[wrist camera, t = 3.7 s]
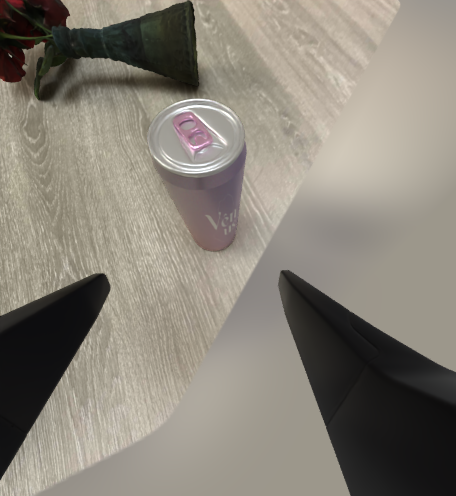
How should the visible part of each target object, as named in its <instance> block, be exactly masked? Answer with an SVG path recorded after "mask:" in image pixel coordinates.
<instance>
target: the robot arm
mask: <svg viewBox="0 0 456 496" xmlns="http://www.w3.org/2000/svg"><path fill="white" fill-rule="evenodd" d="M278 286H279V291H280V295H281V300H282V304H283V308H284V312H285V315H286V318H287V321H288V324H289V327H290V329H291V332H292V335H293V338H294V340H295V343H296V346H297V349H298V351H299V354H300V357H301V360H302V362H303V365H304V368H305V371H306V373H307V376H308V379H309V382H310V385H311V387H312V390H313V393H314V396H315V398H316V401H317V404H318V407H319V409H320V412H321V415H322V417H323V420H324V423H325V425H326V426H327V427H326V429H327V432H328V434H329V437H330V440H331V443H332V445H333V448H334V451H335V454H336V457H337V459H338V462H339V465H340V468H341V470H342V473H343V476H344V479H345V481H346V484H347V487H348V489H349V492H350V495H351V496H456V372H454V371H452V370H449V369H447V368H445V367H443V366H441V365H439V364H437V363H435V362H433V361H432V360H430V359H428V358H426V357H425V356H423V355H421V354H419V353H418V352H416V351H414V350H412V349H411V348H409V347H408V346H406V345H404V344H403V343H401V342H399V341H397V340H396V339H394V338H392V337H390V336H389V335H387V334H386V333H384V332H382V331H380V330H379V329H377V328H376V327H374V326H372V325H371V324H369V323H368V322H366V321H365V320H363V319H362V318H360V317H358V316H357V315H355V314H354V313H352V312H350V311H349V310H348V309H346V308H344V307H343V306H342V305H340V304H339V303H337V302H336V301H334V300H332V299H331V298H330V297H328V296H327V295H325V294H324V293H322V292H321V291H319V290H318V289H316V288H315V287H313V286H312V285H310V284H309V283H307V282H306V281H304V280H303V279H301V278H300V277H298V276H297V275H295V274H294V273H292V272H290V271H289V270H282V271H281V272H280V277H279V283H278ZM110 288H111V287H110V284H109V281H108V279H107V277H106V275H105V274H103V273H96V274H93V275H91V276H89V277H86V278H84V279H82V280H80V281H77V282H75V283H73V284H71V285H69V286H66V287H64V288H62V289H60V290H58V291H55V292H53V293H51V294H49V295H46V296H44V297H42V298H40V299H38V300H35V301H33V302H31V303H29V304H26V305H24V306H22V307H20V308H18V309H15V310H13V311H11V312H9V313H7V314H4V315H2V316H0V480H1V478H2V476H3V475H4V473H5V471H6V470H7V468H8V466H9V465H10V463H11V461H12V460H13V458H14V456H15V455H16V453H17V451H18V450H19V448H20V446H21V445H22V443H23V441H24V440H25V438H26V436H27V434H28V433H29V431H30V429H31V428H32V426H33V424H34V423H35V421H36V419H37V418H38V416H39V414H40V413H41V411H42V409H43V408H44V406H45V404H46V403H47V401H48V399H49V398H50V396H51V394H52V392H53V391H54V389H55V387H56V386H57V384H58V382H59V381H60V379H61V377H62V376H63V374H64V372H65V371H66V369H67V367H68V366H69V364H70V362H71V361H72V359H73V357H74V356H75V354H76V352H77V351H78V349H79V347H80V346H81V344H82V342H83V341H84V339H85V337H86V336H87V334H88V332H89V331H90V329H91V327H92V326H93V324H94V322H95V321H96V319H97V317H98V315H99V313H100V311H101V309H102V307H103V304H104V302H105V300H106V298H107V296H108V294H109V292H110Z"/></svg>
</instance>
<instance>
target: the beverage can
mask: <svg viewBox="0 0 456 496" xmlns="http://www.w3.org/2000/svg"><path fill="white" fill-rule="evenodd" d="M147 143H148V147H149V150H150V153H151V156H152V162H153V165H154V167H155V169H156V171H157V173H158V174H159V176H160V178H161V180H162V182H163V184H164V185H165V187H166V189H167V191H168V193H169V195H170V196H171V198H172V200H173V202H174V204H175V206H176V207H177V209H178V211H179V213H180V215H181V217H182V218H183V220H184V222H185V224H186V226H187V228H188V229H189V231H190V233H191V235H192V237H193V239H194V240H195V242H196V243H197V244H198V245H199V246H200V247H201V248H203V249H205V250H209V251H218V250H222V249H224V248H226V247H228V246H229V245H230V244H231V243H232V242H233V240H234V238H235V235H236V230H237V222H238V214H239V207H240V199H241V191H242V183H243V176H244V168H245V160H246V143H245V130H244V126H243V123H242V121H241V119H240V118H239V116H238V115H237V114H236V113H235V112H234V111H233V110H232V109H231V108H229V107H228V106H226V105H224V104H222V103H220V102H217V101H214V100H210V99H201V98H195V99H187V100H182V101H179V102H176V103H174V104H171V105H169V106H168V107H166V108H164V109H163V110H162V111H161V112H159V113H158V114H157V115H156V117H155V118H154V119H153V121H152V122H151V124H150V127H149V129H148V134H147Z"/></svg>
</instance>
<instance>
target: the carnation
mask: <svg viewBox="0 0 456 496" xmlns="http://www.w3.org/2000/svg"><path fill="white" fill-rule="evenodd" d="M68 16H70V14H69V11H68V9H67V8H66V7H65V5H64V4H63V3H62V2H61V0H0V79H2V80H3V81H6V82H10V83H12V82H19V81H21V79H22V77H24V76H25V74H26V72H25V71H24V70H23V69H22V66H23V65H24V64H25V55H24V52H23V50H22V49H27V50H28V49H31V48H33V47H34V45H37V44H39V43H40V42H45V48H44V49H45V56H44V58H43V57H40V58H39V59H38V62H37V69H36V70H37V72H36V78H35V81H34V94H35V96H36V98H37V99H38V100H40V99H39V87H40V80H41V78H42V77H43V75H45V74H46V73H48V71H49V69H50V67H56V66H59V65H61V64H63V63H64V62H65V61H66V59H67V58H75V59H79V58H81V57H85V58H86V57H90V58H92V59H93V58H105V59H107V58H110V59H112V60H114V61H118V60H119V61H121V62H125V63H127V64H128V65H132V66H134V67H138V68H142V69H143V70H148V71H151V72H154V73H157V74H160V75H163V76H165V77H170V78H172V79H176V80H179V81H183V82H186V83H189V84H193V85H195V86H199V82H198V80H199V79H198V78H199V77H198V76H199V75H198V69H197V68H198V66H197V51H196V32H195V28H194V23H195V22H194V21H195V16H194V8H193V4H192V2H191V1H189V0H188V1H187V2H184V3H179V4H175V5H172V6H170V7H169V8H166V9H164V10H162V11H157V12H154V13H148V14H146V15H144V16H141V17H140V18H137V19H133V20H132V19H131V20H129V21H125V22H121V23H118V24H114V25H111V26H109V27H103V29H91V28H80V29H75V28H74V29H72V30H70V29H69V28H68V27H66V19H67V17H68ZM8 53H9V54H10V55H12V58H11V57H10V56H9V54H8ZM25 65H26V64H25Z"/></svg>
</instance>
